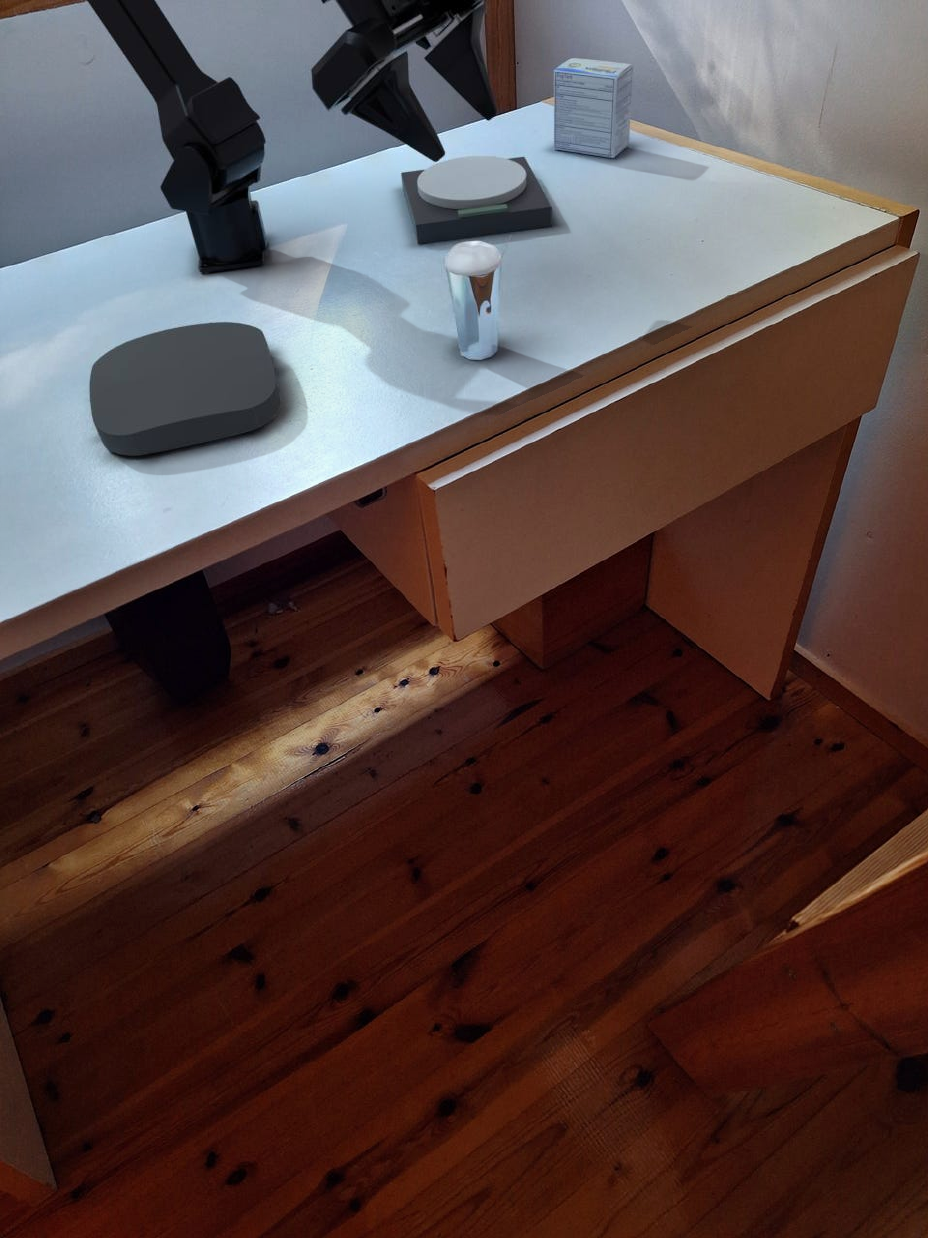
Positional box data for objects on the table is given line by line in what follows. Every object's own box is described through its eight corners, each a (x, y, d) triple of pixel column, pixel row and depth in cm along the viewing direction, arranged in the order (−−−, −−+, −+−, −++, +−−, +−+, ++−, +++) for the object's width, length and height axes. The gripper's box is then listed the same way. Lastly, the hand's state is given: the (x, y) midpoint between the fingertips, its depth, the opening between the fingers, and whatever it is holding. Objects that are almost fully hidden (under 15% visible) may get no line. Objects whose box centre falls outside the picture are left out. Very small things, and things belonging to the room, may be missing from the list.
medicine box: (629, 146, 106) (635, 63, 100) (612, 160, 104) (617, 75, 97) (570, 137, 109) (571, 55, 103) (552, 150, 107) (552, 67, 101)
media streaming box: (102, 469, 69) (88, 437, 67) (100, 372, 79) (87, 341, 77) (289, 427, 71) (281, 395, 69) (265, 338, 81) (257, 307, 79)
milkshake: (509, 366, 75) (505, 249, 68) (447, 363, 76) (436, 247, 69) (518, 338, 78) (515, 223, 71) (458, 335, 79) (449, 221, 72)
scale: (417, 244, 92) (414, 214, 90) (402, 190, 102) (399, 162, 100) (551, 226, 93) (552, 196, 91) (524, 174, 103) (524, 146, 100)
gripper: (338, -116, 55) (484, 120, 61) (476, -166, 66) (589, 38, 72) (249, 5, 64) (385, 203, 69) (384, -58, 74) (493, 118, 80)
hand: (468, 136), depth 72 cm, fingers open, 9 cm apart
